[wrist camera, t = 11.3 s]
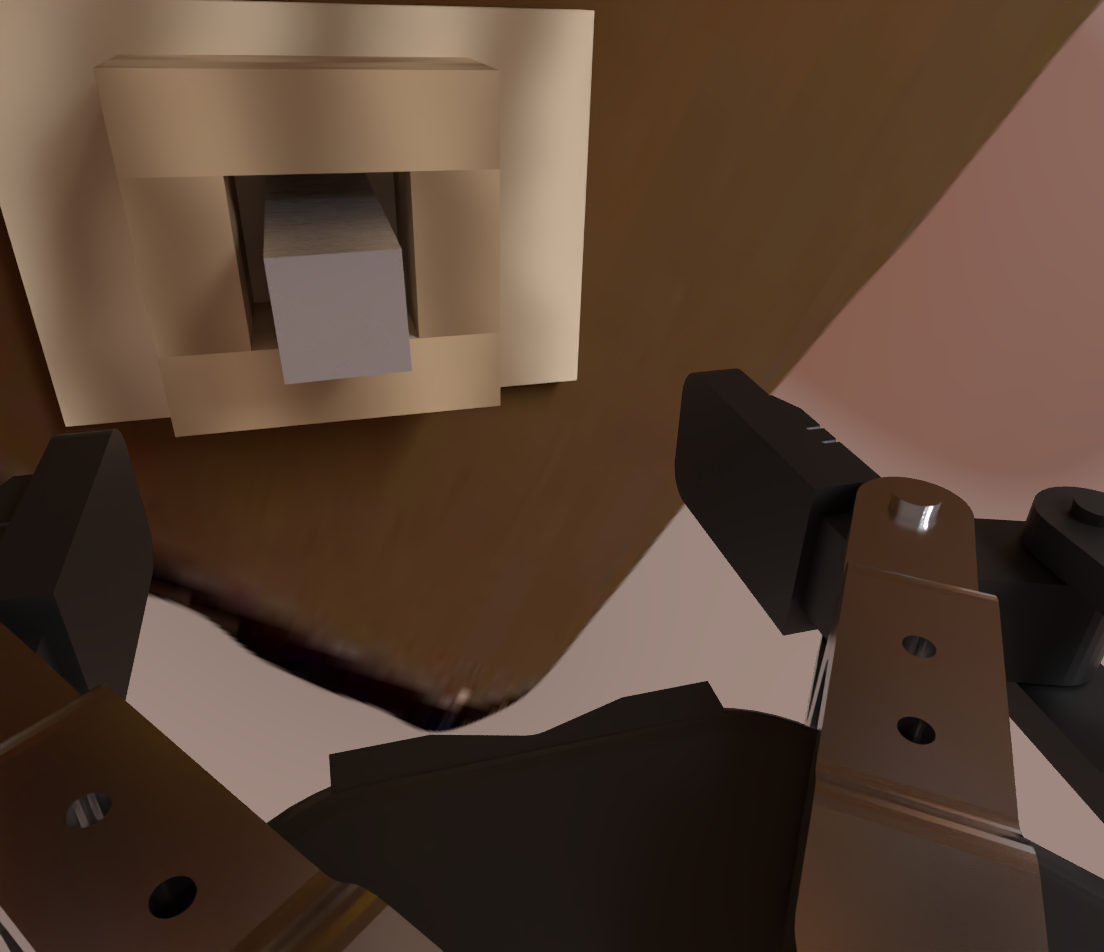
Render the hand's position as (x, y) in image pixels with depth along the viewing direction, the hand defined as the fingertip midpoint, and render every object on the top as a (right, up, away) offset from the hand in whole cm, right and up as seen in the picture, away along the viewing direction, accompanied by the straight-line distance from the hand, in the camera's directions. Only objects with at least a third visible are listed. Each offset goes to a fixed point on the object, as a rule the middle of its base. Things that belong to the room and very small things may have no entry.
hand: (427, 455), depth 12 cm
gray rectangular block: (-6, +9, +18) cm, 21 cm away
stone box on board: (-7, +9, +19) cm, 22 cm away
